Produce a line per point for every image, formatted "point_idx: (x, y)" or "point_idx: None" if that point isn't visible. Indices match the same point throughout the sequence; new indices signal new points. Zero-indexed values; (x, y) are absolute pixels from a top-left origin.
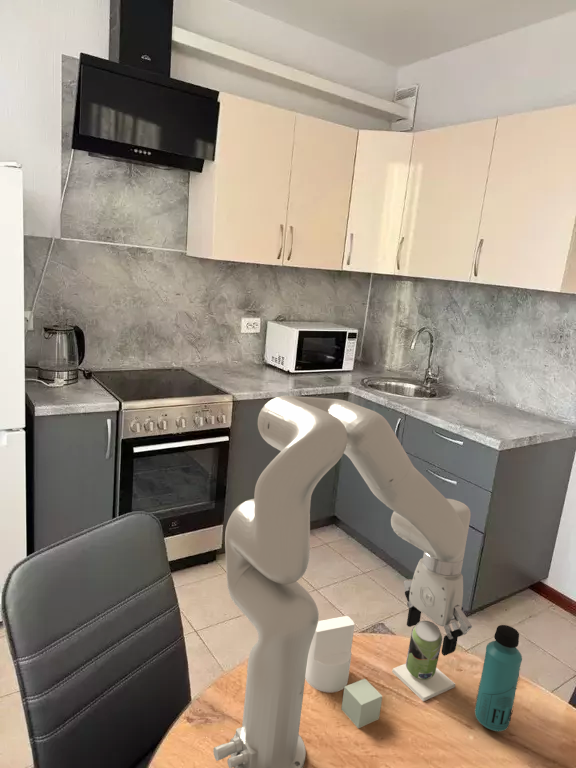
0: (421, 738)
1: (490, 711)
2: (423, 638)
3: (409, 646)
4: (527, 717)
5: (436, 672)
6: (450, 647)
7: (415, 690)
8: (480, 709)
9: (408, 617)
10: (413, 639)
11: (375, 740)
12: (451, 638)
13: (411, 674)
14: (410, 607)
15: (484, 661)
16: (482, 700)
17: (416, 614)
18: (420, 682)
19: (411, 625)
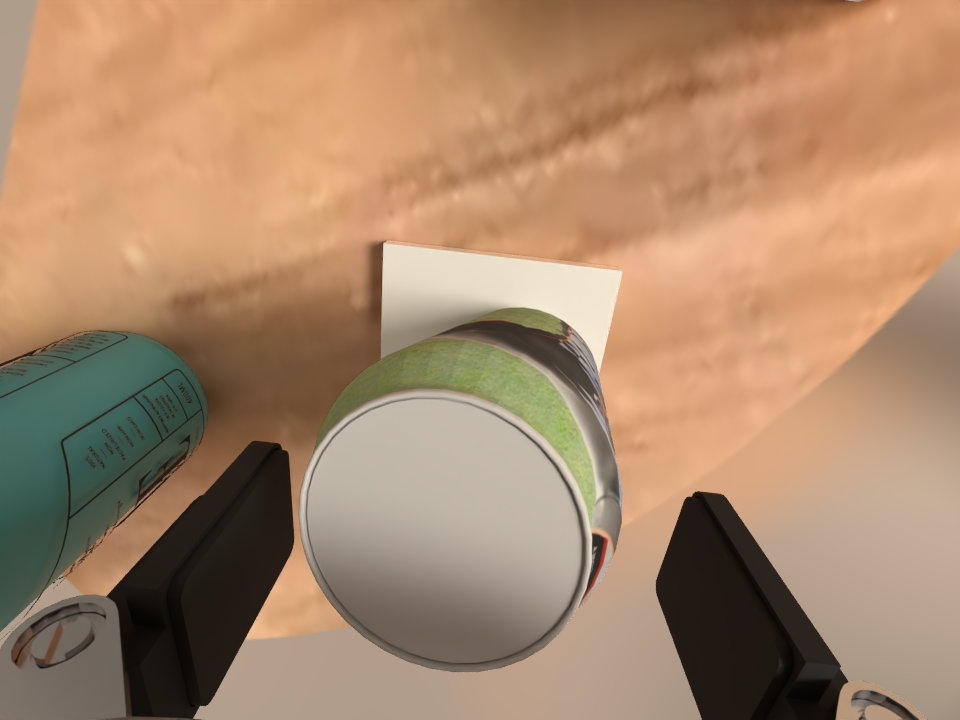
0: (202, 5)
1: (4, 368)
2: (395, 408)
3: (573, 355)
4: (150, 522)
5: None
6: (169, 527)
7: (443, 249)
8: (85, 356)
9: (758, 559)
10: (515, 352)
11: None
12: (34, 618)
13: (518, 307)
14: (840, 698)
15: None
16: (31, 381)
17: (714, 649)
18: (467, 317)
19: (684, 518)
